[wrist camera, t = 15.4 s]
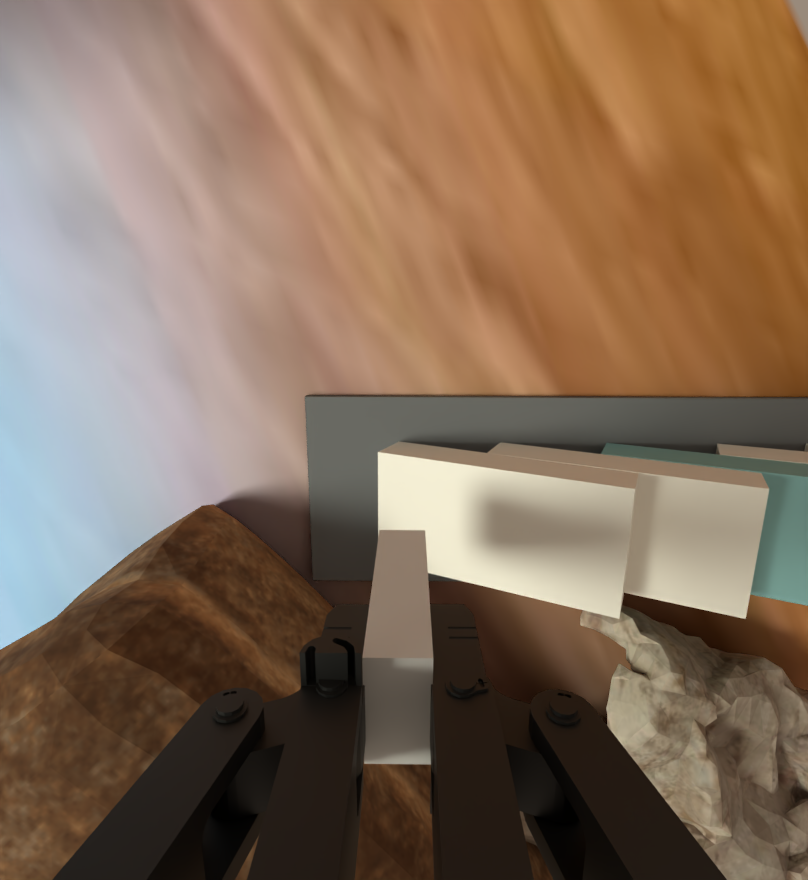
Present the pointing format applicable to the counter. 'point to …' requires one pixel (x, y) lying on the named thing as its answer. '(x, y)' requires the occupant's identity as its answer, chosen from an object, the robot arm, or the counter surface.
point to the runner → (508, 421)
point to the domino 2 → (683, 528)
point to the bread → (171, 695)
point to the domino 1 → (514, 521)
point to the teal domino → (785, 522)
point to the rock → (714, 743)
